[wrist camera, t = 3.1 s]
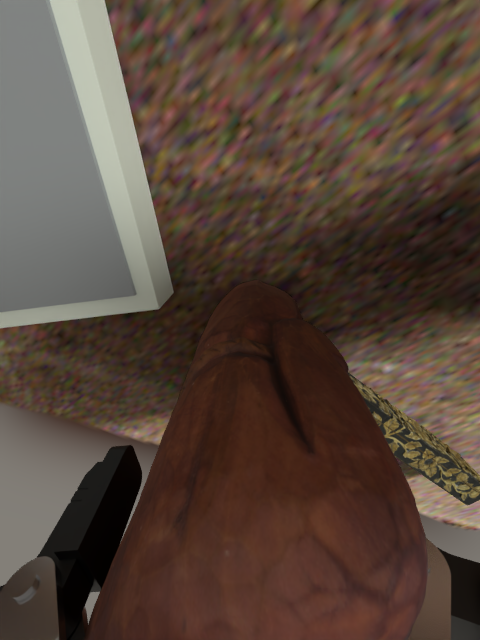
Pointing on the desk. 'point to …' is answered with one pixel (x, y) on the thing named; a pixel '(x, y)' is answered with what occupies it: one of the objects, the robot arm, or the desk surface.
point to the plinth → (71, 172)
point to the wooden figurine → (268, 499)
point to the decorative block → (422, 448)
